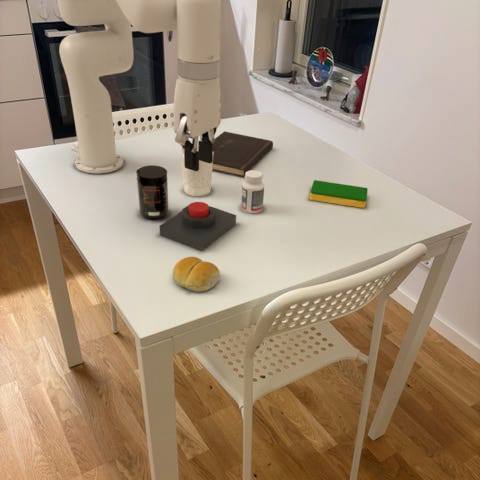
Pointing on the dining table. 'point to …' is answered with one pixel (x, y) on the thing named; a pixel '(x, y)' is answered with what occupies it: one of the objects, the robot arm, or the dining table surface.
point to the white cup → (197, 178)
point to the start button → (198, 209)
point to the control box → (197, 227)
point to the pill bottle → (252, 192)
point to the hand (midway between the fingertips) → (198, 164)
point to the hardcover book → (238, 153)
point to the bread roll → (195, 274)
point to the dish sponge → (339, 194)
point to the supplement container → (153, 192)
